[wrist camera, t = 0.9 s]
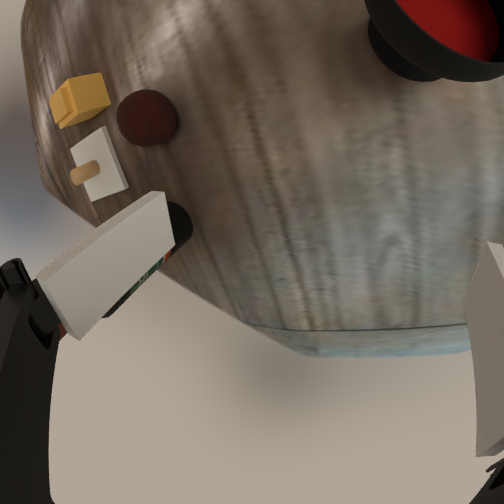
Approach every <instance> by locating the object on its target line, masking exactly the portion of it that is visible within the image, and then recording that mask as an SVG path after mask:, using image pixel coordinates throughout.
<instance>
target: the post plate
mask: <svg viewBox="0 0 504 504" xmlns="http://www.w3.org/2000/svg"><path fill="white" fill-rule="evenodd" d="M70 150H71V153H72V155H73V158H74V161H75V163H76V166H77V168H75V169H73V170H71V172H70V177H71V180H72V182H73V183H74V184H75V185H79V184H81V183H84V186H85V188H86V190H87V193H88V195H89V197H90V200H91V202H92V201H95V200H97V199H100V198H103V197H105V196H108V195H111V194H114V193H116V192H119V191H122V190H125V189H127V188H128V187H129V186H128V183H127V181H126V178H125V176H124V173H123V171H122V168H121V166H120V163H119V161H118V158H117V156H116V153H115V150H114V148H113V145H112V142H111V139H110V137H109V134H108V131H107V128H106V126H103V127H101V128H99V129H98V130H96V131H95V132H93V133H92V134H90V135H89V136H87V137H86V138H85V139H83V140H82V141H80V142H79V143H78V144H76V145H75V146H74V147H72V148H71V149H70Z"/></svg>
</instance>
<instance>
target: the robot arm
mask: <svg viewBox="0 0 504 504" xmlns="http://www.w3.org/2000/svg"><path fill="white" fill-rule="evenodd" d="M174 245H175V242H174V237H173V232H172V228H171V223H170V218H169V213H168V208H167V203H166V198H165V192H160V191H151V192H149V193H148V194H146V195H144V196H143V197H141V198H140V199H138V200H137V201H135V202H134V203H132V204H131V205H129V206H128V207H126V208H125V209H123V210H122V211H120V212H119V213H117V214H116V215H114V216H113V217H111V218H110V219H109V220H107V221H106V222H104V223H103V224H102V225H100V226H99V227H97V228H96V229H95V230H93V231H92V232H90V233H89V234H88V235H86V236H85V237H84V238H82V239H81V240H80V241H78V242H77V243H76V244H74V245H73V246H72V247H70V248H69V249H68V250H67V251H65V252H64V253H63V254H61V255H60V256H59V257H58V258H56V259H55V260H54V261H53V262H52V263H50V264H49V265H48V266H47V267H46V268H44V269H43V270H42V271H41V272H39V273H38V274H37V275H36V279H34V280H33V281H31V279H30V277H29V275H28V273H27V271H26V269H25V267H24V265H23V263H22V260H21V259H20V258H14V259H12V260H9V261H7V262H6V263H4V264H3V265H2V266H1V267H0V504H55V503H54V502H53V501H52V498H51V495H50V485H49V459H48V458H49V457H48V447H49V418H50V405H51V393H52V384H53V376H54V369H55V362H56V356H57V350H58V344H59V339H60V330H59V328H58V325H59V324H60V323H62V325H63V326H64V328H65V329H66V331H67V333H68V334H70V335H71V336H73V337H74V338H76V339H77V340H79V341H80V340H81V338H83V337H84V335H85V334H86V333H87V332H88V331H89V330H90V329H91V328H92V327H93V326H94V325H95V324H96V323H97V322H98V321H99V320H100V319H101V317H102V316H103V315H104V314H105V313H106V312H107V311H108V310H109V309H110V308H111V307H112V306H113V305H114V304H115V303H116V302H117V301H118V300H119V299H120V298H121V297H122V296H123V295H124V294H125V293H126V292H127V291H128V290H129V289H130V288H131V287H132V286H133V285H134V284H135V283H136V282H137V281H138V280H139V279H140V278H141V277H142V276H143V275H144V274H145V273H146V272H147V271H148V270H149V269H150V268H151V267H152V266H153V265H154V264H155V263H157V262H158V261H159V260H160V259H161V258H162V257H163V256H164V255H165V254H166V253H167V252H168V251H169V250H170V249H171V248H172V247H173V246H174ZM462 300H463V305H464V309H465V314H466V319H467V325H468V330H469V336H470V343H471V350H472V357H473V366H474V376H475V389H476V408H477V409H476V410H477V438H476V440H477V441H476V457H480V456H494V455H497V454H498V453H500V452H501V451H502V450H504V248H503V246H502V245H500V244H496V243H492V242H488V241H486V243H485V246H484V249H483V252H482V254H481V257H480V260H479V262H478V265H477V267H476V270H475V272H474V274H473V277H472V279H471V281H470V284H469V286H468V288H467V290H466V293H465V295H464V297H463V299H462ZM495 468H496V469H495ZM493 469H495V471H494V472H493V473H492V474H491V475H490V478H489V479H488V480H487V482H486V483H485V485H484V486H483V487H482V488H481V490H480V491H479V493H478V494H477V495H476V496H475V497H474V499H473V500H472V501H471V502H470V503H469V504H504V458H503V459H501V460H500V461H498V462H496V463H495V464H493V465H491V466H490V467H489V468H488V469H487V470H486V472H489V471H491V470H493Z"/></svg>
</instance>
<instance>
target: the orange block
mask: <svg viewBox="0 0 504 504" xmlns="http://www.w3.org/2000/svg"><path fill="white" fill-rule="evenodd" d="M49 103H50V107H51V110H52V114H53V117H54V120H55V123H59V126H60V129H62V128H65V127H68V126H71V125H73V124H76V123H79V122H82V121H85V120H88V119H91V118H93V117H94V116H95V115H97V114H98V113H99V112H101V111H102V110H104V109H105V108H107V107H108V106H109V105H111V102H110V99H109V96H108V93H107V90H106V87H105V83H104V80H103V77H102V74H101V72H100V73H94V74H89V75H83V76H78V77H73V78H69V79H67V80H66V81H65V82H64V83H63V84H62V85H61V86H60V87H59V88H58V90H57V91H56V92H55V93H54V94H53V95H52V96H51V99H50V100H49Z"/></svg>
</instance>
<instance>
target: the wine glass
mask: <svg viewBox="0 0 504 504" xmlns="http://www.w3.org/2000/svg"><path fill="white" fill-rule="evenodd" d="M364 1H365V4H366V7H367V10H368V13H369V15H370V20H369V24H368V32H369V39H370V42H371V45H372V47H373V49H374V51H375V53H376V54H377V56H378V57H379V58H380V60H381V61H382V62H383V63H384V64H385V65H386V66H387V67H388V68H390V69H391V70H392V71H394V72H395V73H397V74H399V75H400V76H403V77H405V78H407V79H411V80H414V81H421V82H424V81H434V80H438V79H440V78H445V79H449V80H454V81H460V82H480V81H488V80H492V79H494V78H497V77H500V76H502V75H504V0H364Z"/></svg>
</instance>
